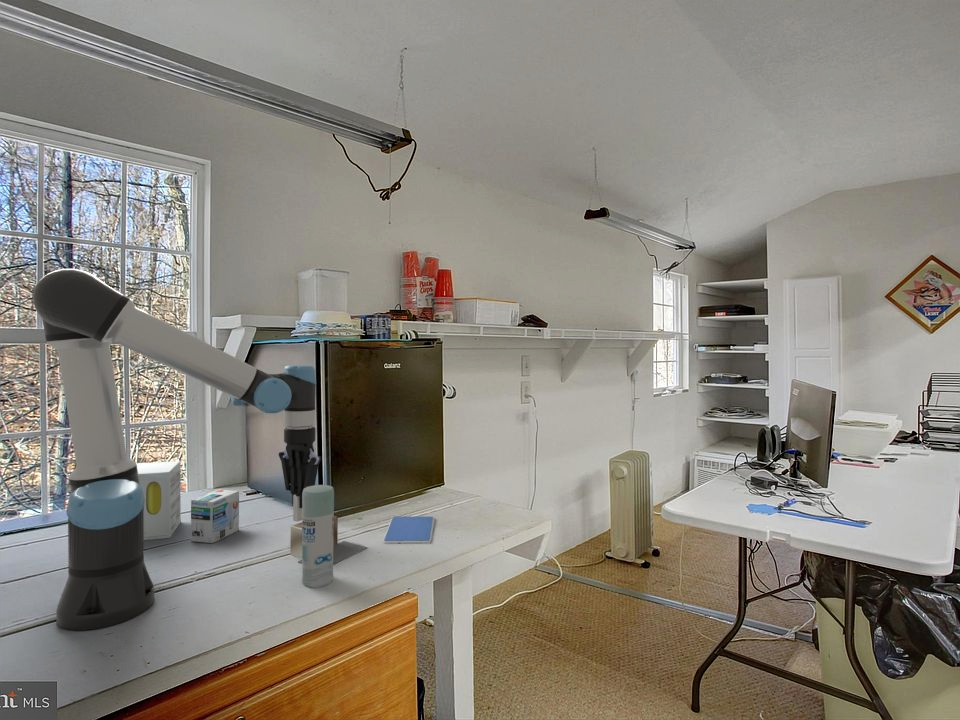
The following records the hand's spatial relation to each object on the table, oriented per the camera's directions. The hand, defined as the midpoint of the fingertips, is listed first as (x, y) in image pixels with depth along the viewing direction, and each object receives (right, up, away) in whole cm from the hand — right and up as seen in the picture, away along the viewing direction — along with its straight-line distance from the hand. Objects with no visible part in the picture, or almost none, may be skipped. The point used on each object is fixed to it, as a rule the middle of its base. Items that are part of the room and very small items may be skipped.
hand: (299, 519), depth 132 cm
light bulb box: (-24, -6, +6) cm, 25 cm away
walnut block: (+2, -3, -7) cm, 8 cm away
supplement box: (-43, -6, +7) cm, 44 cm away
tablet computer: (+26, -7, +12) cm, 30 cm away
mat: (+10, -7, -6) cm, 14 cm away
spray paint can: (+11, -7, -20) cm, 24 cm away
